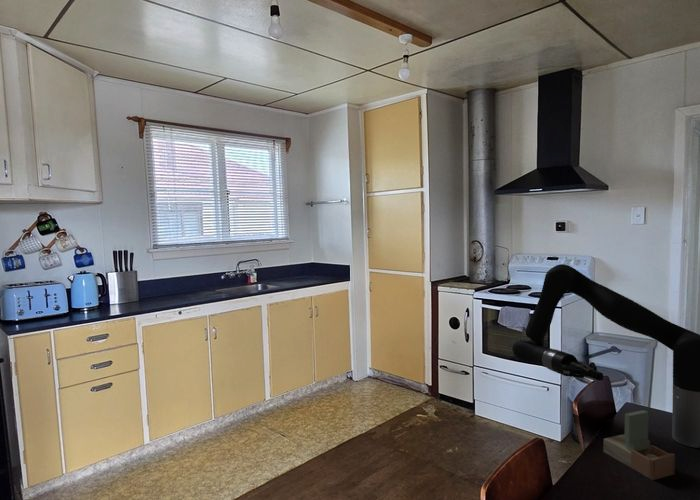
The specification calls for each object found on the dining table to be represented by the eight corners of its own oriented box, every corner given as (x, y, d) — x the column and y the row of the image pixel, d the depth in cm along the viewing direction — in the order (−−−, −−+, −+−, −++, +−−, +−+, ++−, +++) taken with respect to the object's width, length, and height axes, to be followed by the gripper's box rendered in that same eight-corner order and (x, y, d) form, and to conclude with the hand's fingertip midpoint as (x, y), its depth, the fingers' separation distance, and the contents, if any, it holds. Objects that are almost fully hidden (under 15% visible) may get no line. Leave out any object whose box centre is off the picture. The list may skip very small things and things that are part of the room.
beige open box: (624, 446, 132) (624, 434, 132) (652, 462, 123) (652, 448, 123) (603, 451, 130) (603, 438, 129) (630, 467, 121) (631, 453, 121)
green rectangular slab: (643, 443, 125) (643, 409, 125) (651, 447, 123) (651, 413, 122) (624, 448, 123) (624, 413, 123) (632, 452, 121) (632, 417, 120)
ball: (668, 466, 117) (657, 470, 120) (658, 451, 119) (648, 454, 122) (656, 469, 116) (646, 473, 119) (647, 453, 118) (637, 457, 121)
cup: (652, 462, 123) (652, 443, 123) (674, 474, 117) (675, 454, 117) (630, 467, 121) (631, 448, 121) (652, 480, 115) (652, 460, 115)
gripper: (543, 353, 148) (584, 368, 132) (574, 348, 152) (617, 362, 136) (543, 375, 149) (584, 392, 132) (575, 369, 153) (618, 385, 136)
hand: (601, 377), depth 134 cm, fingers closed
